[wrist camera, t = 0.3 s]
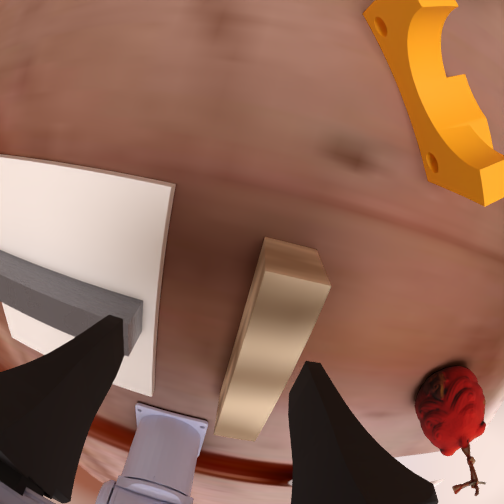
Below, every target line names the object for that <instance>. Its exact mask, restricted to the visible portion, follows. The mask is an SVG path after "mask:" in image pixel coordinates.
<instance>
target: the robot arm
mask: <svg viewBox="0 0 504 504" xmlns="http://www.w3.org/2000/svg"><path fill="white" fill-rule="evenodd" d="M123 358H124V337H123V319H122V318H119V317H115V316H112V315H108V316H106V317H105V318H103V319H101V320H100V321H99V322H97V323H96V324H94V325H93V326H91V327H90V328H88V329H87V330H85V331H84V332H82V333H81V334H79V335H78V336H76V337H75V338H73V339H72V340H70V341H68V342H67V343H65V344H63V345H62V346H60V347H58V348H57V349H55V350H53V351H51V352H50V353H48V354H46V355H44V356H42V357H40V358H37V359H35V360H33V361H31V362H28V363H26V364H23V365H20V366H18V367H15V368H12V369H9V370H6V371H3V372H0V504H55V503H53V502H51V501H50V500H48V499H46V498H44V497H43V495H44V496H46V497H48V498H50V499H52V498H53V499H55V500H57V501H59V502H61V503H67V502H69V501H71V494H72V489H73V484H74V479H75V475H76V470H77V467H78V463H79V459H80V456H81V452H82V449H83V446H84V443H85V440H86V437H87V434H88V432H89V429H90V426H91V424H92V421H93V419H94V417H95V415H96V413H97V411H98V409H99V407H100V406H101V404H102V402H103V400H104V398H105V396H106V394H107V393H108V391H109V389H110V387H111V385H112V383H113V381H114V380H115V378H116V376H117V373H118V371H119V368H120V366H121V363H122V361H123ZM135 410H136V421H137V430H136V433H135V436H134V439H133V442H132V445H131V448H130V451H129V454H128V457H127V460H126V463H125V466H124V469H123V472H122V475H121V476H120V475H119V476H118V479H117V482H116V481H114V480H109V481H107V482H105V483H104V484H103V485H102V487H101V489H100V491H99V494H98V497H97V500H96V504H193V498H192V497H190V495H191V489H192V483H193V477H194V472H195V466H196V460H197V457H198V456H199V454H200V451H201V447H202V444H203V441H204V437H205V434H206V430H207V427H208V422H207V421H205V420H201V419H196V418H192V417H188V416H184V415H180V414H176V413H172V412H169V411H165V410H161V409H158V408H155V407H151V406H148V405H145V404H142V403H136V405H135ZM288 417H289V428H290V438H291V449H292V459H293V482H292V483H293V484H292V498H291V504H437V503H438V499H437V495H436V492H435V489H434V486H433V484H432V483H430V482H429V481H427V480H425V479H423V478H422V477H420V476H418V475H417V474H415V473H413V472H412V471H411V470H409V469H408V468H406V467H405V466H404V465H402V464H401V463H400V462H399V461H397V460H396V459H395V458H394V457H392V456H391V455H390V454H389V453H388V452H387V451H386V450H385V449H384V448H382V447H381V446H380V445H379V444H378V443H377V442H376V441H375V439H374V438H373V437H372V436H371V435H370V434H369V433H368V432H367V431H366V430H365V428H364V427H363V426H362V425H361V424H360V422H359V421H358V420H357V418H356V417H355V416H354V414H353V413H352V412H351V410H350V409H349V407H348V406H347V405H346V403H345V402H344V400H343V399H342V397H341V396H340V394H339V393H338V391H337V389H336V388H335V386H334V385H333V383H332V381H331V380H330V378H329V376H328V375H327V373H326V371H325V370H324V368H323V367H322V365H321V363H316V362H309V361H306V362H305V364H304V366H303V368H302V370H301V372H300V374H299V375H298V377H297V379H296V381H295V383H294V385H293V387H292V389H291V391H290V393H289V411H288Z"/></svg>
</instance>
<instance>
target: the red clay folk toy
mask: <svg viewBox="0 0 504 504" xmlns="http://www.w3.org/2000/svg"><path fill="white" fill-rule="evenodd" d="M415 410H416V414H417V417H418V419H419V420H420V423H421V428H422V430H423V432H424V434H425V436H426V437H427V438H428V439H429V440H430V441H431V443H432V444H433V445H434V446H436V447H438V448H439V449H440V451H441V453H442V454H443V455H445V456H450V455H453V454H454V453H455V451H456V450H458V449H459V448H461V449H462V451H463V452H464V454H465V455H466V456H467V462H468V465H469V467H470V471H471V480H470V481H469V482H466V483H464V484H459V485H455V486H453V490H454V493H455V494H457V493H458V492H459V491H460V490H461V489H462V488H465V487H466V486H470V485H471V487H472V488H475V489H476V493H475V496H477V495H478V494H479V488H478V486H477V485H478V484H485V482H479V481H478V478H477V475H476V472H475V469H474V467H473V464H474V462H475V459H474V458H473V457H471V456H470V444H469V442H471V441H472V440H473V439H474V438H476V437H478V436H480V435H482V434H483V432H484V430H485V426H486V424H485V422H484V413H485V397H484V395H483V391H482V388H481V387H480V386H479V384H478V381H477V378H476V376H475V375H474V374H473V373H472V372H471V371H470V370H469V369H468V368H465V367H462V366H453V367H448V368H445V369H442V370H440V371H439V372H436V373H434V374H433V375H432V376H430V377H429V378H428V379H427V380H426V382H425V383H424V384H423V385H422V387H421V389H420V391H419V393H418V395H417V398H416V402H415Z"/></svg>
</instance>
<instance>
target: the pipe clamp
mask: <svg viewBox="0 0 504 504" xmlns="http://www.w3.org/2000/svg"><path fill="white" fill-rule="evenodd" d="M456 7H458V4H457V3H456V1H455V0H375V1H374V2H373V3H372V4H371V5H370V6H369V7H368V8H367V9H366V10H365V12H364V13H363V15H364V17H365V19H366V21H367V23H368V24H369V26H370V28H371V30H372V32H373V34H374V36H375V38H376V40H377V42H378V44H379V46H380V48H381V50H382V52H383V54H384V56H385V58H386V60H387V62H388V65H389V67H390V69H391V71H392V74H393V76H394V78H395V81H396V83H397V86H398V88H399V91H400V93H401V96H402V98H403V101H404V104H405V106H406V109H407V112H408V115H409V117H410V120H411V123H412V126H413V129H414V133H415V136H416V139H417V142H418V146H419V149H420V153H421V156H422V160H423V164H424V167H425V171H426V175H427V179H428V181H429V182H431V183H434V184H436V185H438V186H441V187H443V188H446V189H448V190H450V191H452V192H455V193H457V194H459V195H461V196H464V197H466V198H468V199H470V200H472V201H474V202H476V203H478V204H480V205H483V206H487V205H489V204H491V203H493V202H495V201H497V200H499V199H501V198H503V197H504V155H502V154H500V153H498V152H496V151H495V150H493V145H492V140H491V136H490V131H489V127H488V123H487V119H486V117H485V116H484V114H483V113H482V111H481V109H480V108H479V106H478V104H477V102H476V100H475V98H474V96H473V94H472V92H471V90H470V87H469V85H468V82H467V79H466V76H465V74H463V75H457V76H451V77H446V74H445V71H444V66H443V62H442V55H441V33H442V28H443V24H444V22H445V20H446V18H447V16H448V15H449V13H450V12H451V11H452V10H453V9H455V8H456Z"/></svg>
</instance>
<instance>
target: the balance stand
mask: <svg viewBox="0 0 504 504" xmlns="http://www.w3.org/2000/svg"><path fill="white" fill-rule="evenodd" d="M175 186H176V184H173V183H169V182H164V181H159V180H154V179H149V178H144V177H139V176H134V175H129V174H124V173H119V172H113V171H108V170H102V169H97V168H91V167H85V166H79V165H73V164H67V163H61V162H54V161H48V160H41V159H34V158H27V157H19V156H11V155H3V154H0V301H1V302H2V304H3V308H4V312H5V315H6V319H7V322H8V326H9V329H10V332H11V335H12V338H14V339H16V340H18V341H19V342H21V343H23V344H25V345H27V346H29V347H30V348H32V349H34V350H36V351H38V352H40V353H42V354H44V355H46V354H48V353H50V352H51V351H53V350H55V349H57V348H58V347H60V346H62V345H63V344H65V343H67V342H68V341H70V340H72V339H73V338H75V337H76V336H78V335H79V334H81V333H82V332H84V331H85V330H87V329H88V328H90V327H91V326H93V325H94V324H96V323H97V322H99V321H100V320H101V319H103V318H105V317H106V316H108V315H112V316H115V317H119V318H122V319H123V337H124V358H123V361H122V363H121V366H120V368H119V371H118V373H117V376H116V378H115V380H114V381H113V383H112V384H114V385H117V386H120V387H122V388H125V389H128V390H131V391H134V392H137V393H140V394H144V395H147V396H150V397H152V395H153V392H154V386H155V360H156V342H157V328H158V315H159V304H160V293H161V284H162V275H163V266H164V258H165V250H166V243H167V236H168V229H169V222H170V216H171V210H172V204H173V198H174V192H175Z"/></svg>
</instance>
